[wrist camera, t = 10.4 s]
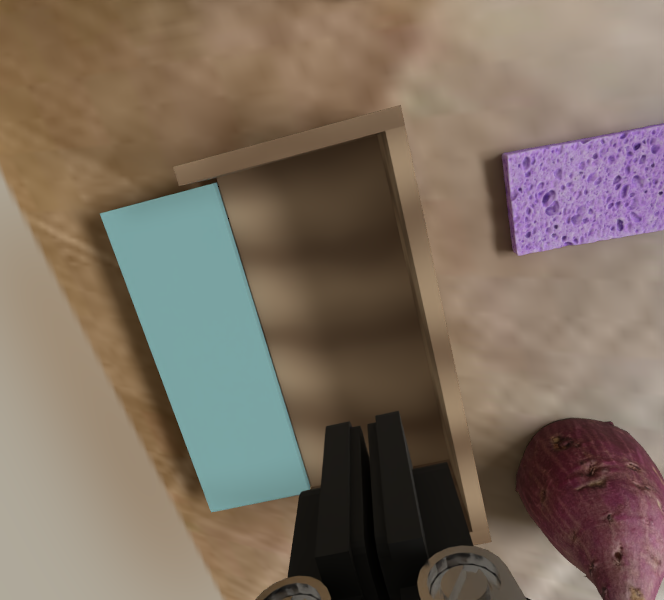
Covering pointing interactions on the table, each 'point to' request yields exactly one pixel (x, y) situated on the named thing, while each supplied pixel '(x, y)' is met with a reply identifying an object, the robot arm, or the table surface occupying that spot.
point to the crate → (348, 289)
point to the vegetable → (598, 504)
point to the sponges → (585, 189)
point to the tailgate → (208, 345)
